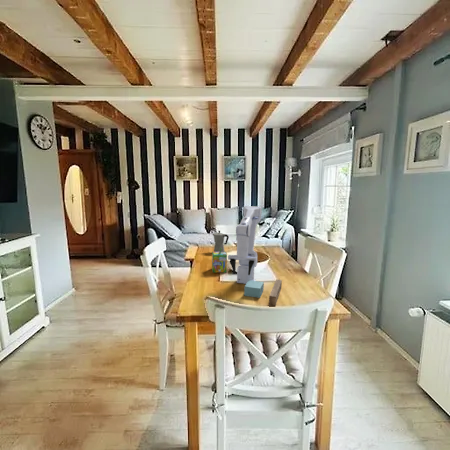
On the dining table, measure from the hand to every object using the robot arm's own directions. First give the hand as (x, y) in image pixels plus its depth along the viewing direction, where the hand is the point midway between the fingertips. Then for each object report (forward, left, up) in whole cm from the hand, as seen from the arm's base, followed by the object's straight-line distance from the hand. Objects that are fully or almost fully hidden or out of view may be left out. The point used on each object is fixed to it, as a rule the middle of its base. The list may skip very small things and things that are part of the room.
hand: (241, 273), depth 142 cm
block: (+7, +1, -10) cm, 12 cm away
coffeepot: (-37, +76, -10) cm, 85 cm away
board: (+18, +1, -10) cm, 20 cm away
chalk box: (-22, +30, -10) cm, 38 cm away
